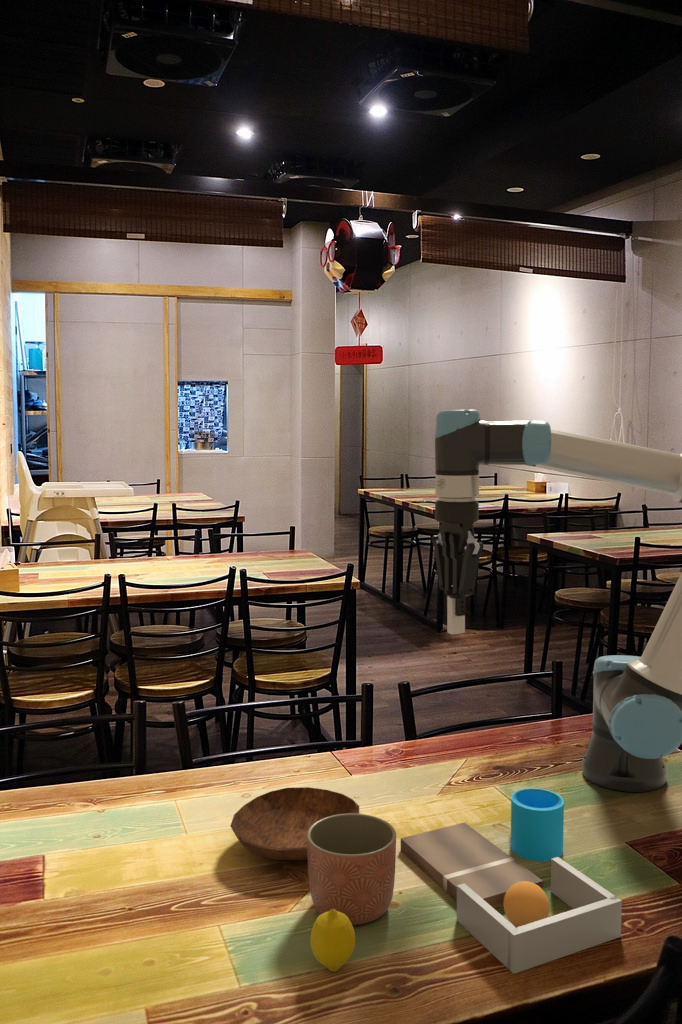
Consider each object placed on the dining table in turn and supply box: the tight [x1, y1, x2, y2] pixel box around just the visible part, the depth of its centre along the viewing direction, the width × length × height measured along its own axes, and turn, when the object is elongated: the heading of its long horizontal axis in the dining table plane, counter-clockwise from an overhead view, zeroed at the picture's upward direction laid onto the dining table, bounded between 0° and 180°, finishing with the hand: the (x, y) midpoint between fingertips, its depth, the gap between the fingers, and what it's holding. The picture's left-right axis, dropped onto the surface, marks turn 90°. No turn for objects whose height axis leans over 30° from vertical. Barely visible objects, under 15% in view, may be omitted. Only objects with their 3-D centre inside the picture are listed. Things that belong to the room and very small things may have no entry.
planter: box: [307, 813, 397, 926], centre depth 118 cm, size 12×12×11 cm
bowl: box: [230, 786, 360, 861], centre depth 136 cm, size 20×22×5 cm
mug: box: [510, 787, 565, 862], centre depth 136 cm, size 12×8×8 cm
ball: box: [503, 881, 550, 928], centre depth 113 cm, size 6×6×6 cm
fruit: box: [309, 908, 356, 972], centre depth 105 cm, size 6×6×8 cm
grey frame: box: [456, 857, 623, 975], centre depth 113 cm, size 17×13×5 cm
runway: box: [400, 822, 544, 910], centre depth 128 cm, size 12×20×2 cm, turn 25°
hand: (456, 632), depth 150 cm, fingers closed
